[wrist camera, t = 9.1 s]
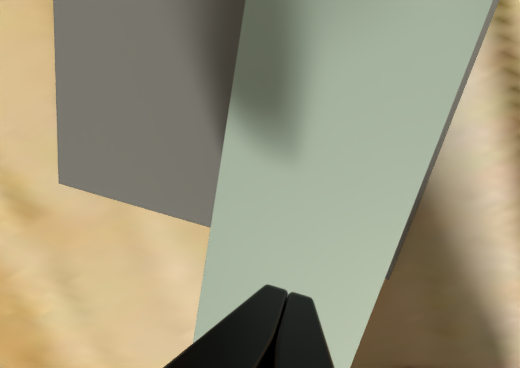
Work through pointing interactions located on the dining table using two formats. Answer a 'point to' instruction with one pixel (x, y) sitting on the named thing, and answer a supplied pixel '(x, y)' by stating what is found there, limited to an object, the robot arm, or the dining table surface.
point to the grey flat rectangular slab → (157, 100)
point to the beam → (330, 150)
